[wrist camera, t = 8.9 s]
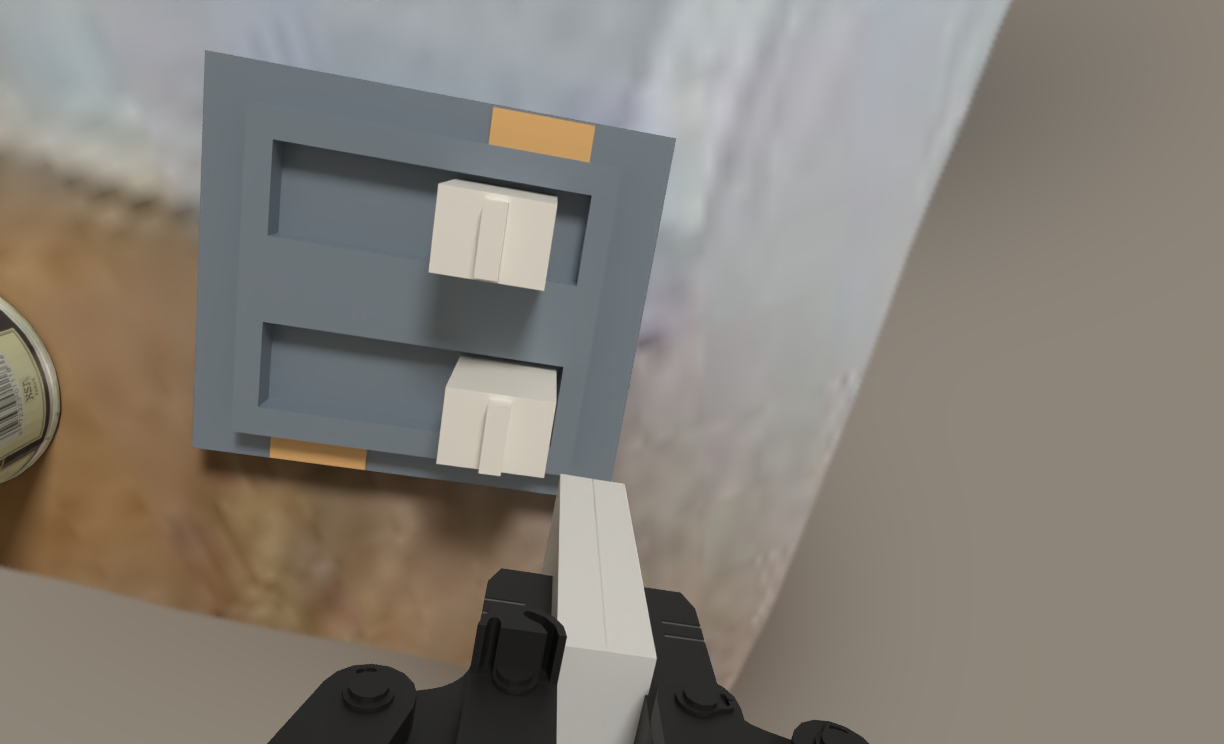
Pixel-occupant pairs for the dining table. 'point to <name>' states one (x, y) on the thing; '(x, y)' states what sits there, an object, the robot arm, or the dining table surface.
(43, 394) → the coffee can
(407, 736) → the robot arm
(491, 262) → the tab
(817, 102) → the dining table surface
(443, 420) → the tab
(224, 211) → the switch board
